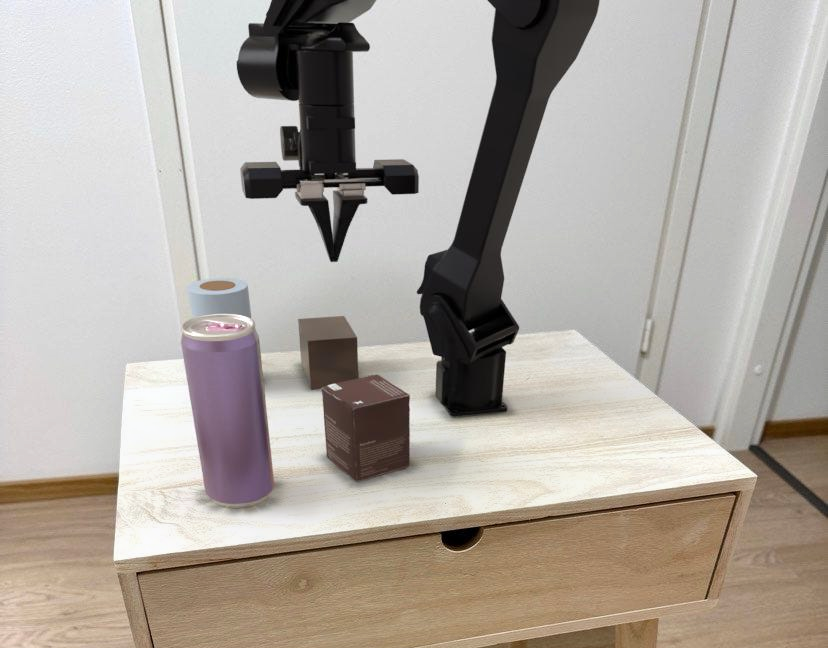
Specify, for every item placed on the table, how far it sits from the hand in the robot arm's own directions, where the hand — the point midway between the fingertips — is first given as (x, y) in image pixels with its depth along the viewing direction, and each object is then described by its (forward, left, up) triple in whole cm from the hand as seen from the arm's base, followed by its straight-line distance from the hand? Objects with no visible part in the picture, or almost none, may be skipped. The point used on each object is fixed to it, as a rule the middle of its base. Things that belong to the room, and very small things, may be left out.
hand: (333, 261), depth 87 cm
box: (+2, +27, -12) cm, 30 cm away
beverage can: (+14, +30, -12) cm, 35 cm away
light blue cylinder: (+9, +4, -11) cm, 15 cm away
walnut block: (+2, +4, -12) cm, 13 cm away
